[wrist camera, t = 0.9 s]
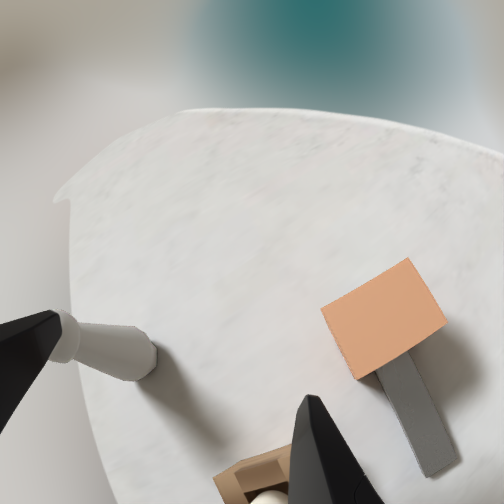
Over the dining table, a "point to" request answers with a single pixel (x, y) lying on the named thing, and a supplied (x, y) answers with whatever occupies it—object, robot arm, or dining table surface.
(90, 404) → the dining table surface
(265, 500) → the plunger
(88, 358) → the salt shaker
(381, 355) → the block
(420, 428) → the rail
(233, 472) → the cabinet
